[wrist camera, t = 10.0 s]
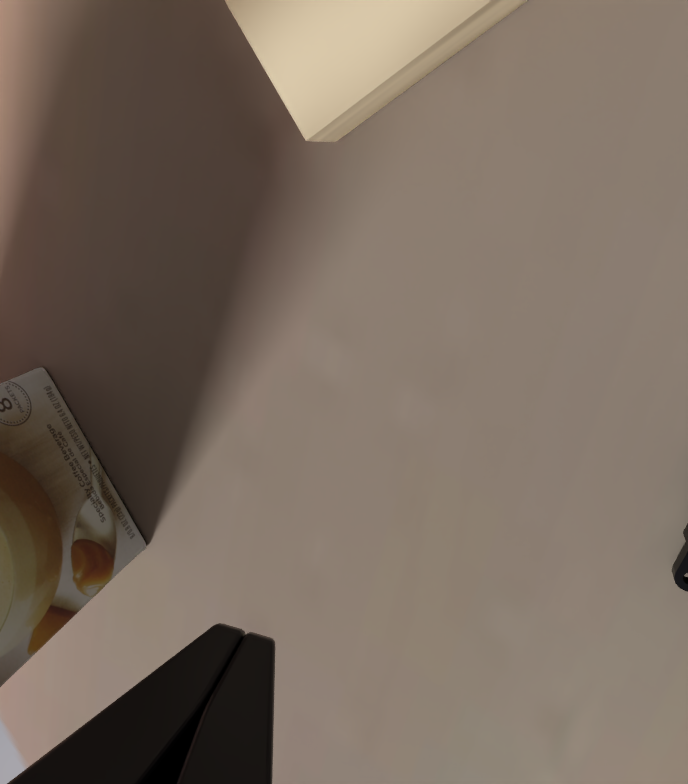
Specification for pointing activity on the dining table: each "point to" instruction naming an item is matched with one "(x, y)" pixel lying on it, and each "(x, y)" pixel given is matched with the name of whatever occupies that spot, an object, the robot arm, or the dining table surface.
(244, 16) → the board
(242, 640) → the robot arm
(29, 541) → the coffee box
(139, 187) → the dining table surface
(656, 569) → the dining table surface
